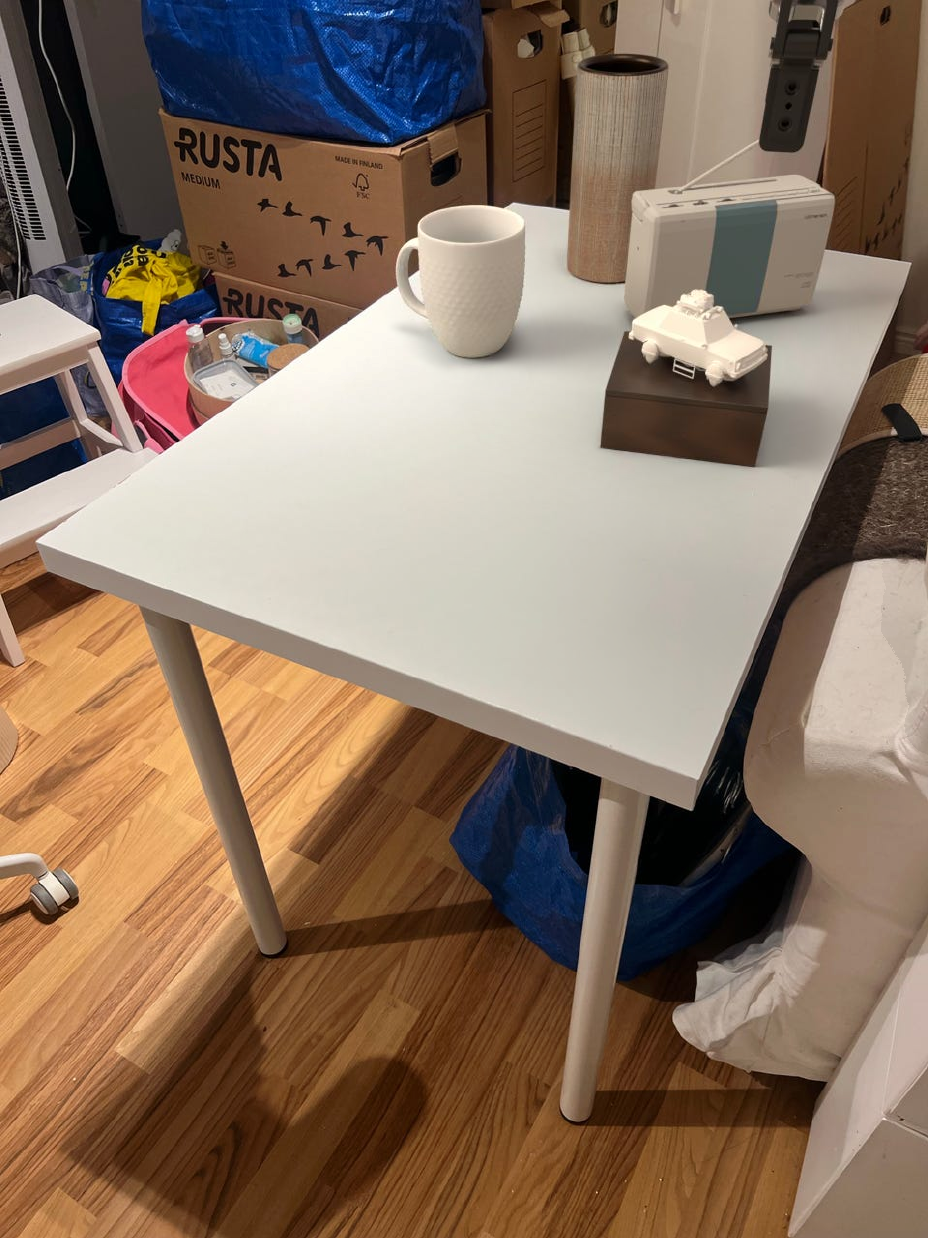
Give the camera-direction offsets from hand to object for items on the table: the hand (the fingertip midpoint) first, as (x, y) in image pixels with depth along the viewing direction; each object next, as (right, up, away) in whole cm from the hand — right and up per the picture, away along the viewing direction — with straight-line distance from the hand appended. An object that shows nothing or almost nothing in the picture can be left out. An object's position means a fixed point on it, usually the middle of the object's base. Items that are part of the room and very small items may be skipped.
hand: (781, 127), depth 50 cm
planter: (+1, +18, +66) cm, 69 cm away
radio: (+12, +9, +56) cm, 58 cm away
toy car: (+4, -4, +34) cm, 35 cm away
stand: (+4, -8, +38) cm, 39 cm away
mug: (-17, +4, +52) cm, 55 cm away
